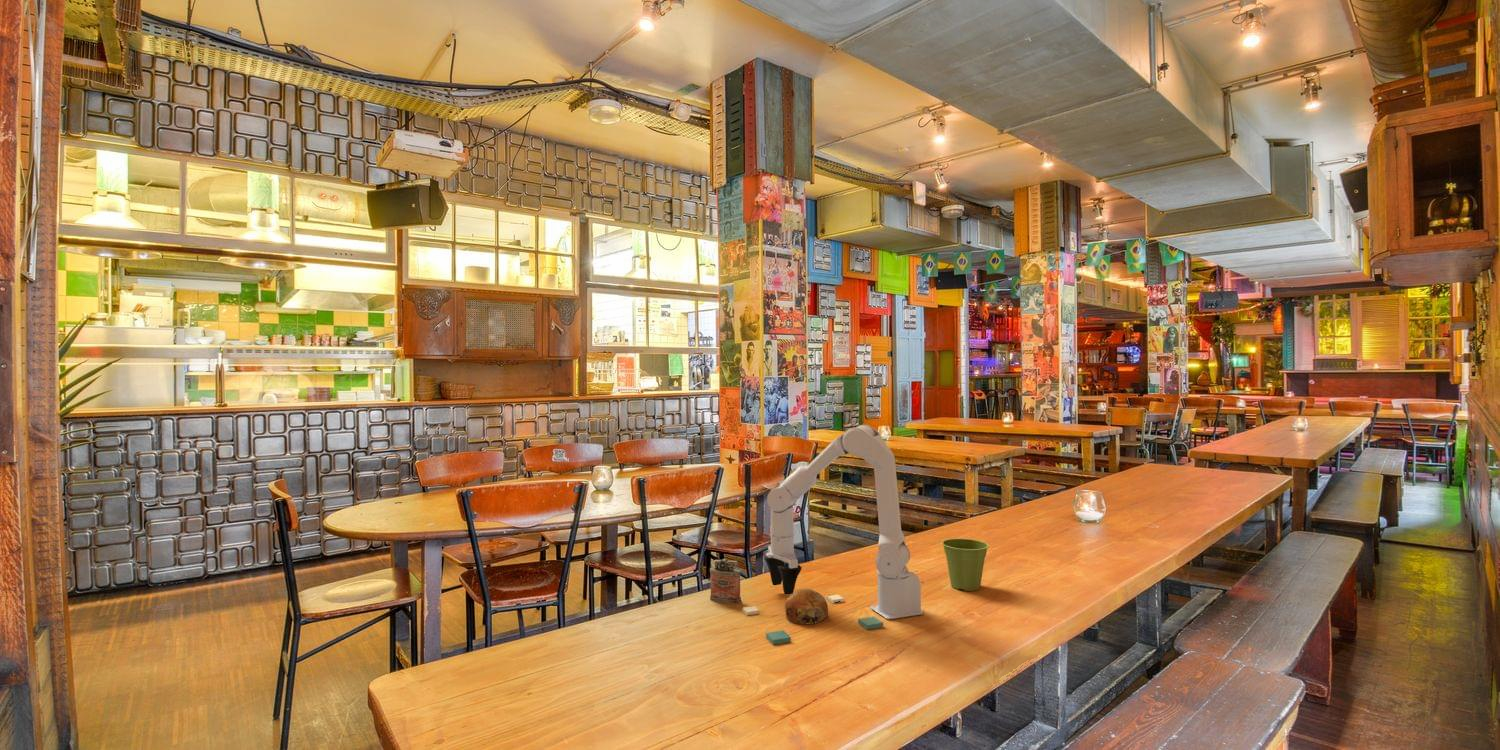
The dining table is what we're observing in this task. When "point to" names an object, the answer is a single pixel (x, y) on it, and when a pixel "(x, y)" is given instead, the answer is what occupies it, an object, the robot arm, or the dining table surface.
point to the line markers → (783, 637)
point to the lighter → (725, 582)
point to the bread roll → (806, 607)
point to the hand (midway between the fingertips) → (782, 589)
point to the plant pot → (965, 562)
